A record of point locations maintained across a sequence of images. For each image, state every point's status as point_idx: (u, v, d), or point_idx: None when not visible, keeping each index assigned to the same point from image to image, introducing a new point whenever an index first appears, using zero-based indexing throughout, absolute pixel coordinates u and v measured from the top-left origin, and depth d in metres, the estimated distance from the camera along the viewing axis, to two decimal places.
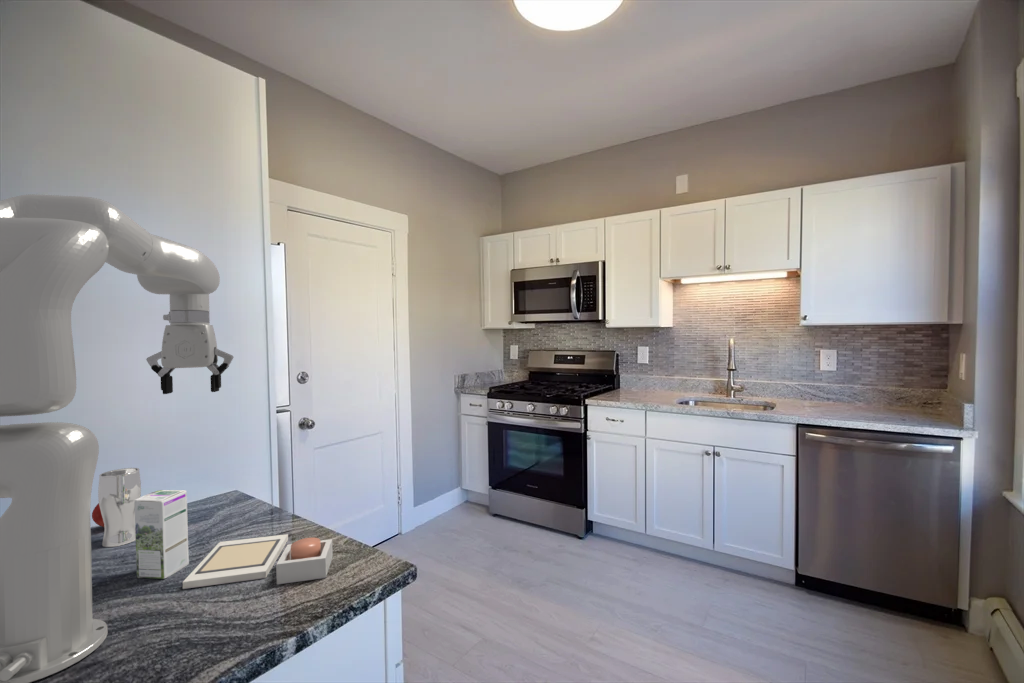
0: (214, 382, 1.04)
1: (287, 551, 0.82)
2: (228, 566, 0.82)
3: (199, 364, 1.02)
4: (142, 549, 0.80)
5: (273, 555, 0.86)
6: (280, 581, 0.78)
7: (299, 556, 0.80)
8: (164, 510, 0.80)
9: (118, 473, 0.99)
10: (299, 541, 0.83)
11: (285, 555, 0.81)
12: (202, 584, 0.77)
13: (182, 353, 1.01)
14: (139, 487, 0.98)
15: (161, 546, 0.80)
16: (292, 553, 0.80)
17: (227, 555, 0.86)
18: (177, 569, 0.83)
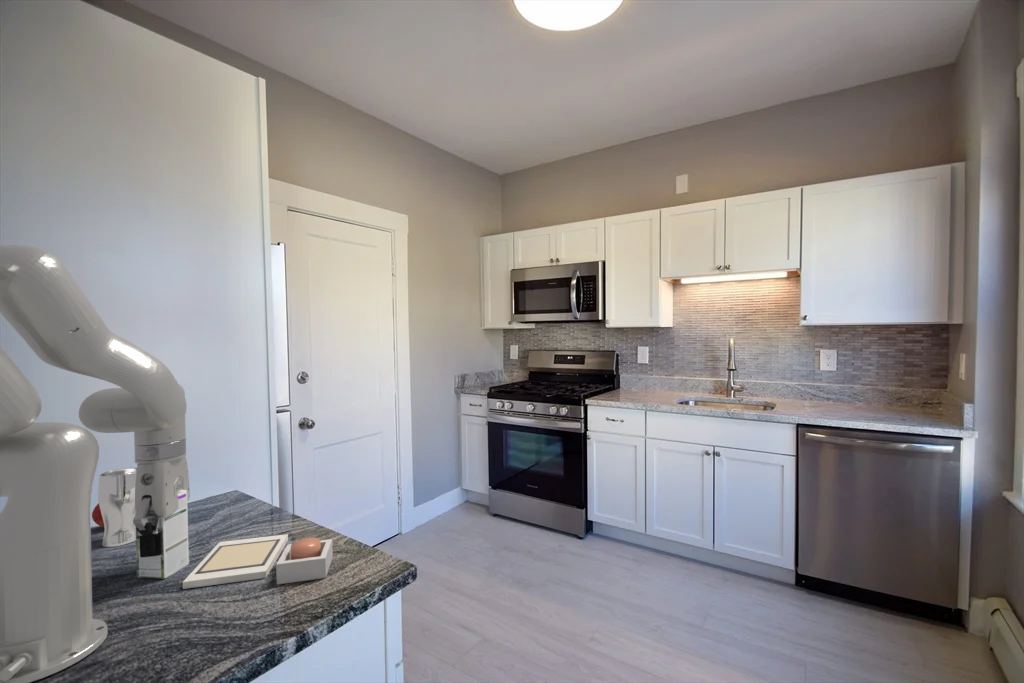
0: None
1: (287, 551, 0.82)
2: (228, 566, 0.82)
3: None
4: None
5: (273, 555, 0.86)
6: (280, 581, 0.78)
7: (299, 556, 0.80)
8: None
9: (118, 473, 0.99)
10: (299, 541, 0.83)
11: (285, 555, 0.81)
12: (202, 584, 0.77)
13: (177, 492, 0.83)
14: None
15: None
16: (292, 553, 0.80)
17: (227, 555, 0.86)
18: (177, 569, 0.83)
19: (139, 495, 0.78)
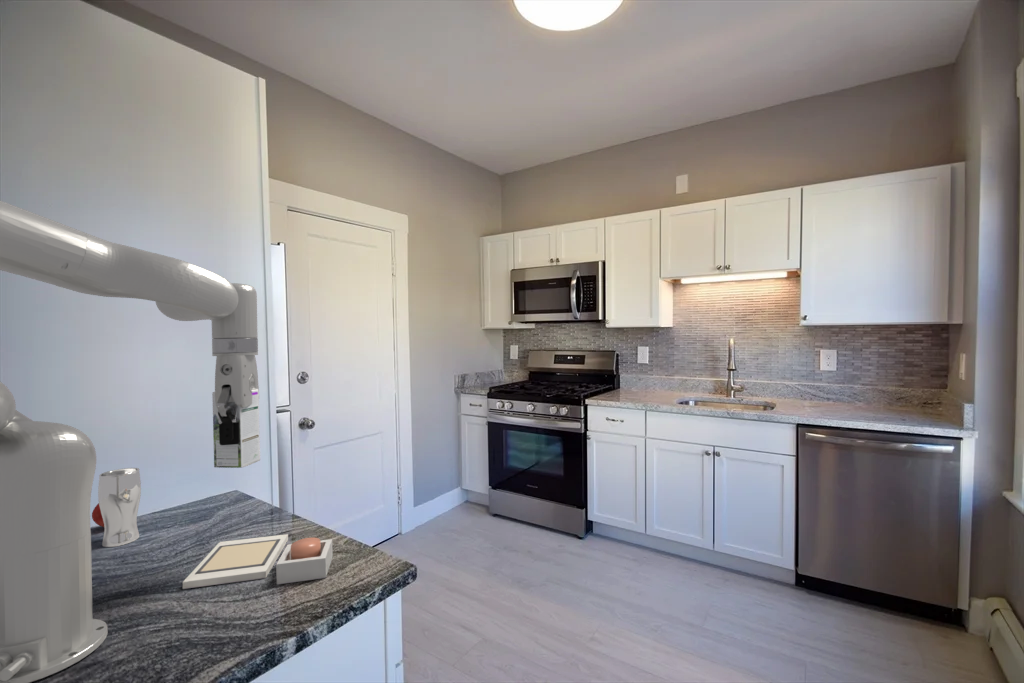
0: None
1: (287, 551, 0.82)
2: (228, 566, 0.82)
3: None
4: None
5: (273, 555, 0.86)
6: (280, 581, 0.78)
7: (299, 556, 0.80)
8: None
9: (118, 473, 0.99)
10: (299, 541, 0.83)
11: (285, 555, 0.81)
12: (202, 584, 0.77)
13: (251, 388, 0.86)
14: (139, 487, 0.98)
15: None
16: (292, 553, 0.80)
17: (227, 555, 0.86)
18: (251, 462, 0.86)
19: (219, 384, 0.81)
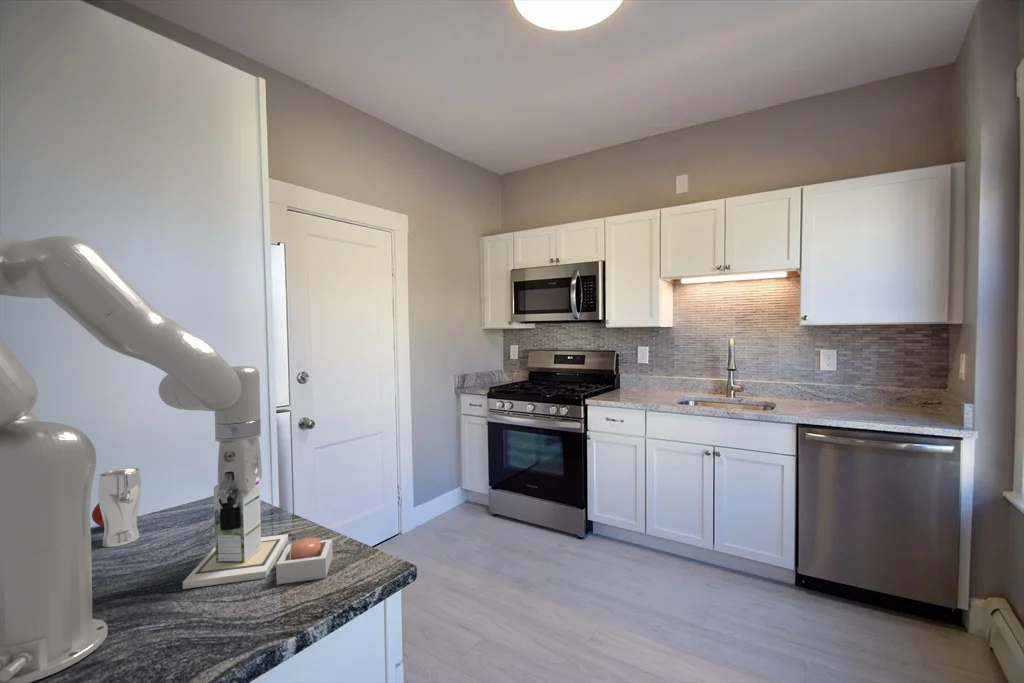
0: None
1: (287, 551, 0.82)
2: (228, 566, 0.82)
3: None
4: (222, 534, 0.83)
5: (273, 555, 0.86)
6: (280, 581, 0.78)
7: (299, 556, 0.80)
8: (244, 495, 0.83)
9: (118, 473, 0.99)
10: (299, 541, 0.83)
11: (285, 555, 0.81)
12: (202, 584, 0.77)
13: (254, 470, 0.86)
14: (139, 487, 0.98)
15: (241, 531, 0.83)
16: (292, 553, 0.80)
17: None
18: (253, 553, 0.86)
19: (222, 471, 0.81)
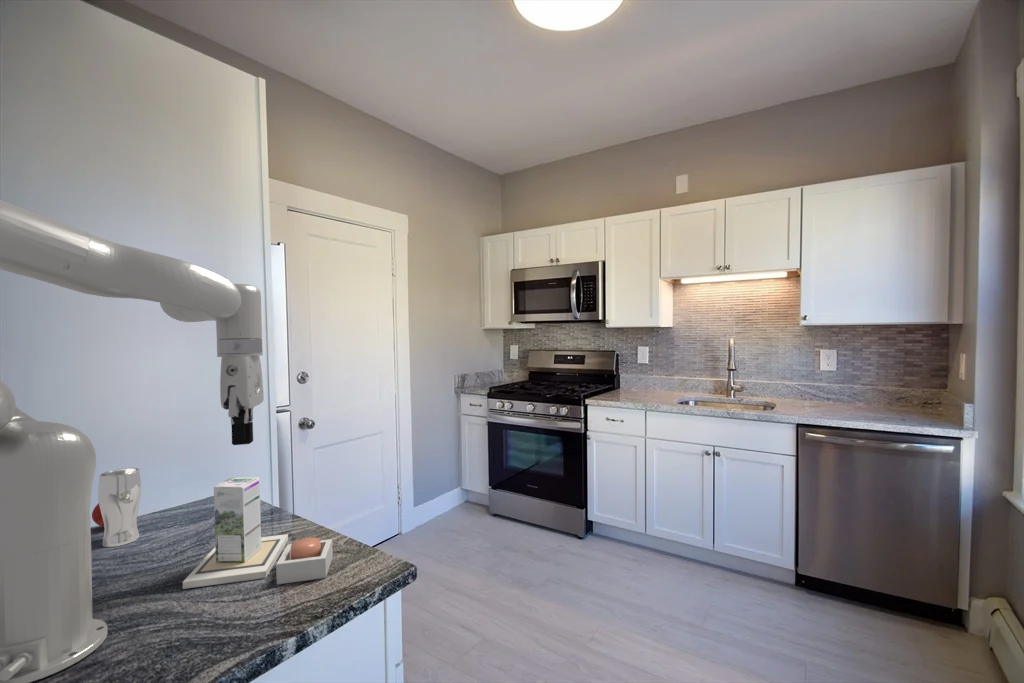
0: None
1: (287, 551, 0.82)
2: (228, 566, 0.82)
3: (261, 400, 0.89)
4: (222, 534, 0.83)
5: (273, 555, 0.86)
6: (280, 581, 0.78)
7: (299, 556, 0.80)
8: (244, 495, 0.83)
9: (118, 473, 0.99)
10: (299, 541, 0.83)
11: (285, 555, 0.81)
12: (202, 584, 0.77)
13: (256, 389, 0.86)
14: (139, 487, 0.98)
15: (241, 531, 0.83)
16: (292, 553, 0.80)
17: None
18: (253, 553, 0.86)
19: (225, 385, 0.81)
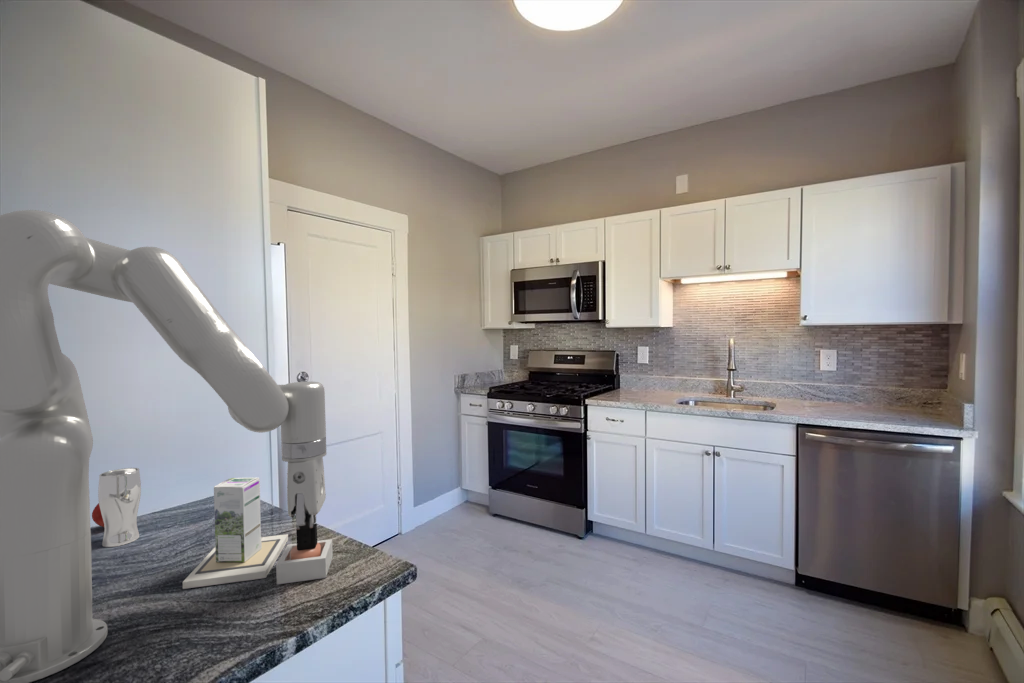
0: None
1: (287, 551, 0.82)
2: (228, 566, 0.82)
3: (324, 498, 0.86)
4: (222, 534, 0.83)
5: (273, 555, 0.86)
6: (280, 581, 0.78)
7: None
8: (244, 495, 0.83)
9: (118, 473, 0.99)
10: None
11: (285, 555, 0.81)
12: (202, 584, 0.77)
13: (321, 490, 0.83)
14: (139, 487, 0.98)
15: (241, 531, 0.83)
16: (292, 558, 0.80)
17: None
18: (253, 553, 0.86)
19: (292, 493, 0.77)
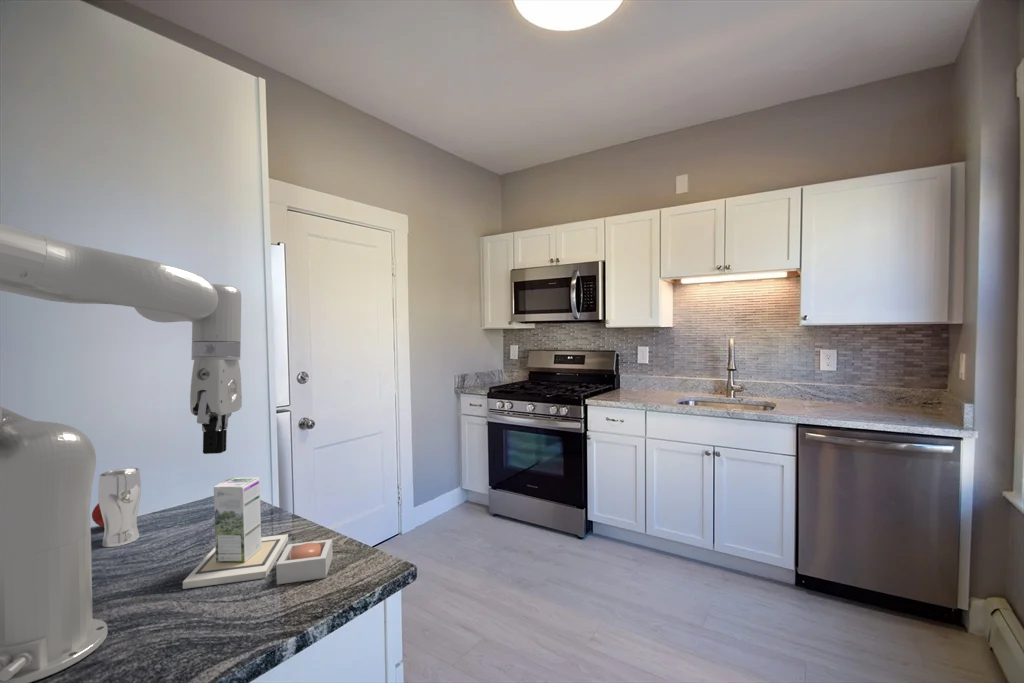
0: None
1: (287, 551, 0.82)
2: (228, 566, 0.82)
3: (238, 407, 0.85)
4: (222, 534, 0.83)
5: (273, 555, 0.86)
6: (280, 581, 0.78)
7: None
8: (244, 495, 0.83)
9: (118, 473, 0.99)
10: (299, 547, 0.83)
11: (285, 555, 0.81)
12: (202, 584, 0.77)
13: (230, 395, 0.82)
14: (139, 487, 0.98)
15: (241, 531, 0.83)
16: (292, 559, 0.80)
17: None
18: (253, 553, 0.86)
19: (195, 390, 0.77)
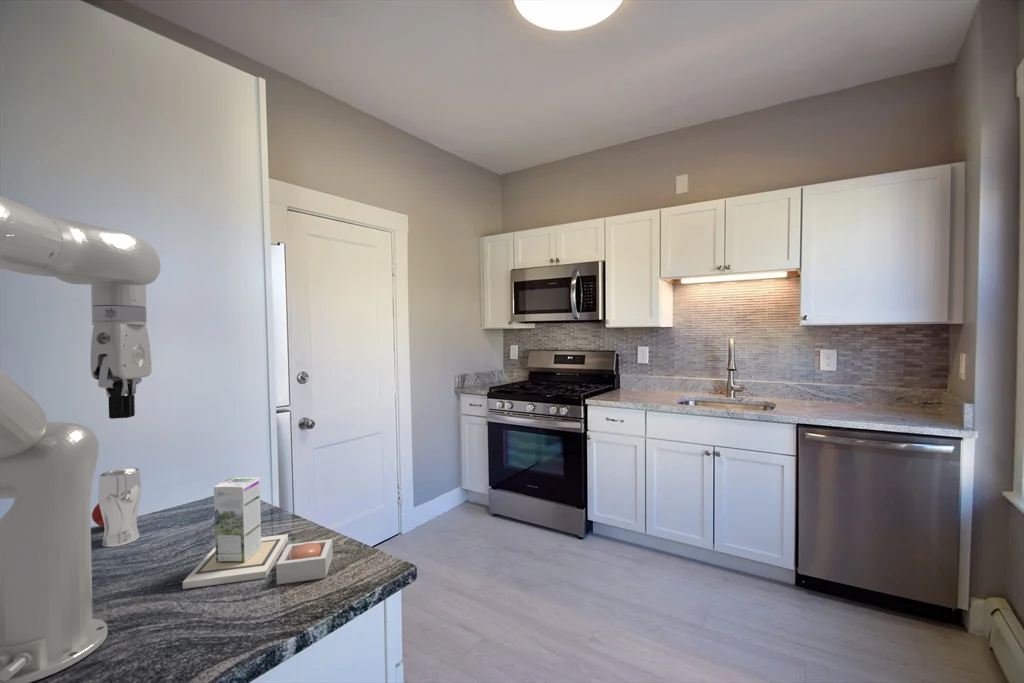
0: None
1: (287, 551, 0.82)
2: (228, 566, 0.82)
3: (147, 373, 0.85)
4: (222, 534, 0.83)
5: (273, 555, 0.86)
6: (280, 581, 0.78)
7: None
8: (244, 495, 0.83)
9: (118, 473, 0.99)
10: (299, 547, 0.83)
11: (285, 555, 0.81)
12: (202, 584, 0.77)
13: (136, 360, 0.82)
14: (139, 487, 0.98)
15: (241, 531, 0.83)
16: (292, 559, 0.80)
17: None
18: (253, 553, 0.86)
19: (95, 354, 0.76)
